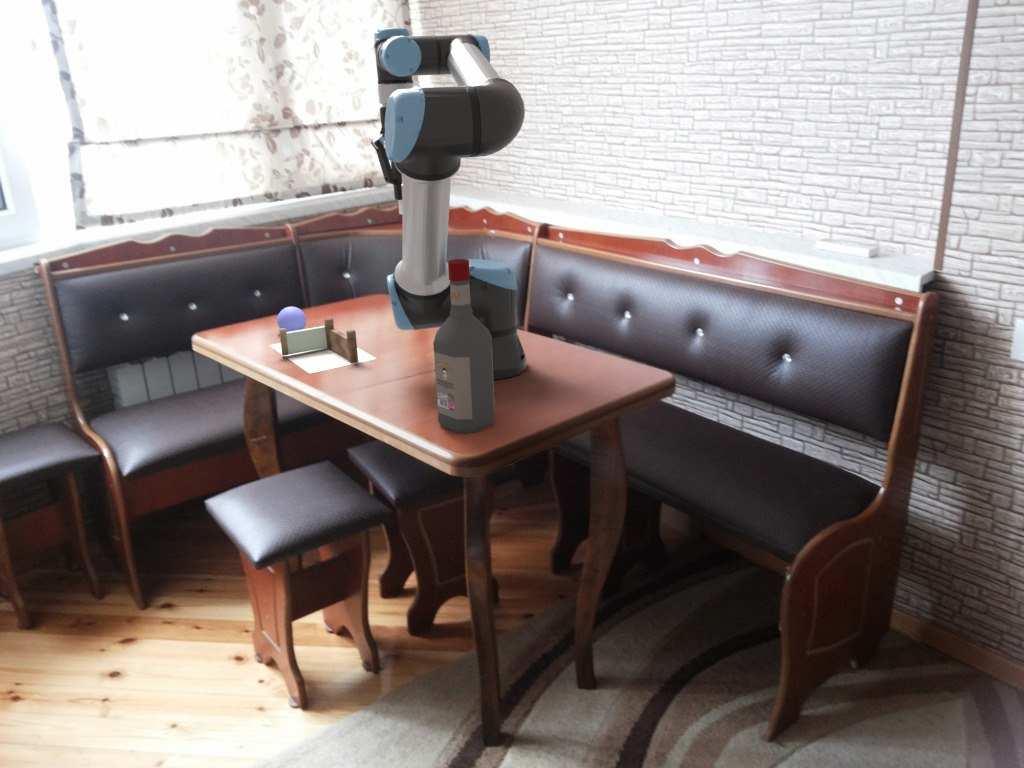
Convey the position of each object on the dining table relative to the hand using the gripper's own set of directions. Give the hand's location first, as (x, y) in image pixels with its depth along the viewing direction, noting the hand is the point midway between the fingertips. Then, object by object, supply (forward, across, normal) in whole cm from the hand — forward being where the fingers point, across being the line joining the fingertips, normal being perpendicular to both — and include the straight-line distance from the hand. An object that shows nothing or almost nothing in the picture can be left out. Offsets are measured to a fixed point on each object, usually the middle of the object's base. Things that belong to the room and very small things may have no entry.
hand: (404, 214), depth 197 cm
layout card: (+30, +21, -6) cm, 37 cm away
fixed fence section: (+30, +18, -1) cm, 35 cm away
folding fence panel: (+30, +24, -8) cm, 39 cm away
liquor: (+31, +16, +51) cm, 62 cm away
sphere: (+31, +20, -26) cm, 45 cm away
